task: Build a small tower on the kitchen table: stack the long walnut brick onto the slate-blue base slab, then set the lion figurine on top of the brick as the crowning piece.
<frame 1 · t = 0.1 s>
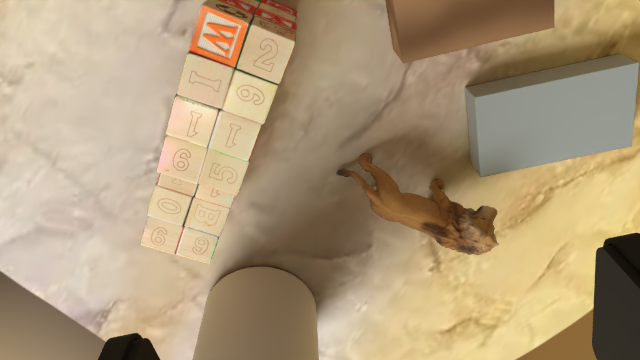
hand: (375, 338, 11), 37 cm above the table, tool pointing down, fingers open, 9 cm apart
base slab: (541, 111, 48), on the table
lion figurine: (410, 182, 51), on the table
stack of blocks: (225, 106, 47), on the table
cylinder vase: (261, 305, 58), on the table
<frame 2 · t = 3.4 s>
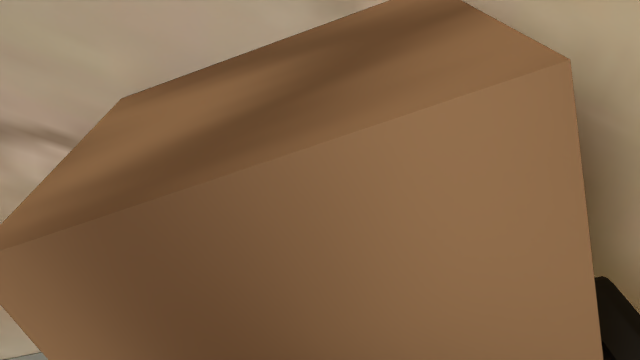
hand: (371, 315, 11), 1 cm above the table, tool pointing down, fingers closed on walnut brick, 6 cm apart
walnut brick: (366, 287, 12), on the table, touching gripper
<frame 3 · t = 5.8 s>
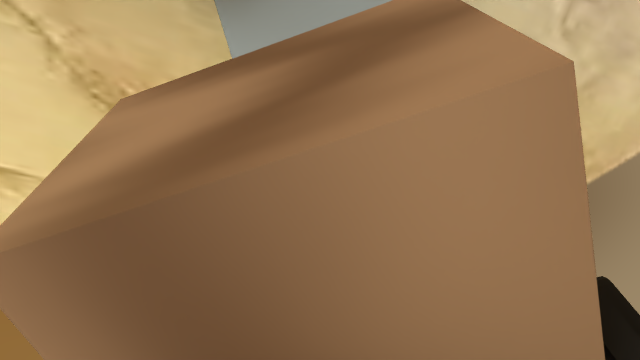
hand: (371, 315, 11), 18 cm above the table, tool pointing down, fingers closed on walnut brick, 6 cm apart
base slab: (328, 81, 27), on the table
walnut brick: (366, 289, 12), point 17 cm above the table, touching gripper
when the fingers open (5 cm above the table, at t = 8.6 s): walnut brick stays where it is, resting on base slab.
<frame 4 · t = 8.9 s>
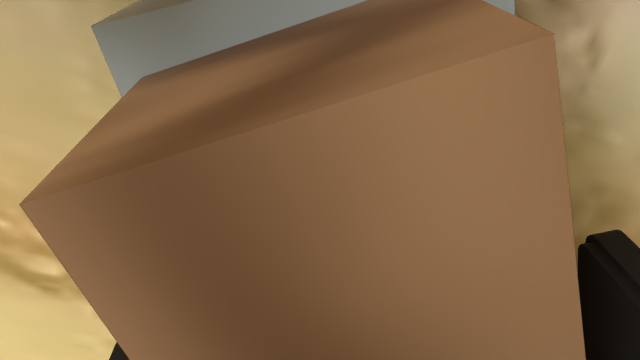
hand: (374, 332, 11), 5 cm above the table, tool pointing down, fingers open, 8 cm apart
base slab: (351, 207, 15), on the table
walnut brick: (365, 264, 12), point 3 cm above the table, touching base slab
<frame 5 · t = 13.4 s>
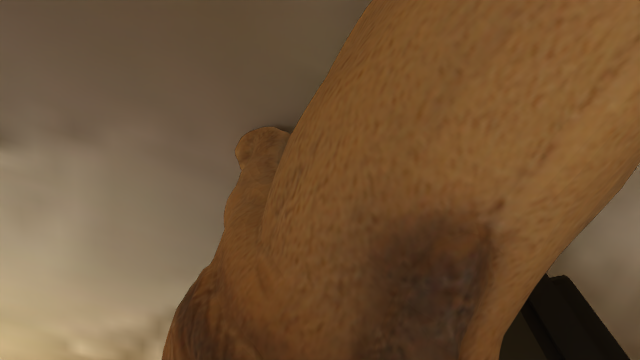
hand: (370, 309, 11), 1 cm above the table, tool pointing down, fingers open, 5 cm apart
lion figurine: (411, 50, 10), on the table, touching gripper
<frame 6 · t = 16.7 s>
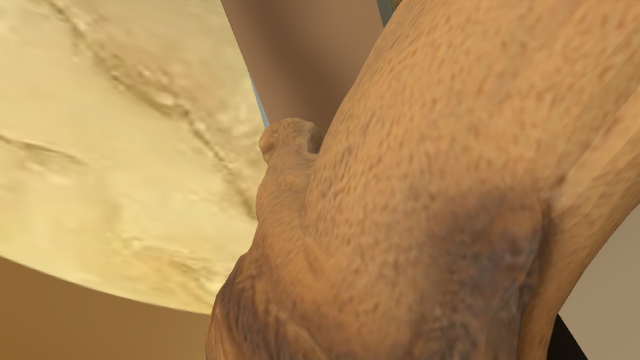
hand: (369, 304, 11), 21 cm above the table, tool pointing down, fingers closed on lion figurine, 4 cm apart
base slab: (324, 65, 30), on the table
lion figurine: (435, 38, 10), point 20 cm above the table, touching gripper
walnut brick: (328, 77, 27), point 3 cm above the table, touching base slab
when the fingers open (9 cm above the table, at t = 19.5 s): lion figurine stays where it is, resting on walnut brick.
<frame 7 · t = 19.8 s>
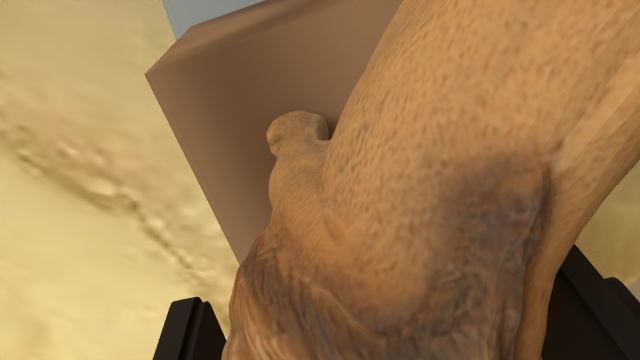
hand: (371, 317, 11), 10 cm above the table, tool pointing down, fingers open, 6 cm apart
base slab: (339, 139, 20), on the table
lion figurine: (434, 34, 10), point 8 cm above the table, touching walnut brick
walnut brick: (347, 170, 17), point 3 cm above the table, touching base slab, lion figurine
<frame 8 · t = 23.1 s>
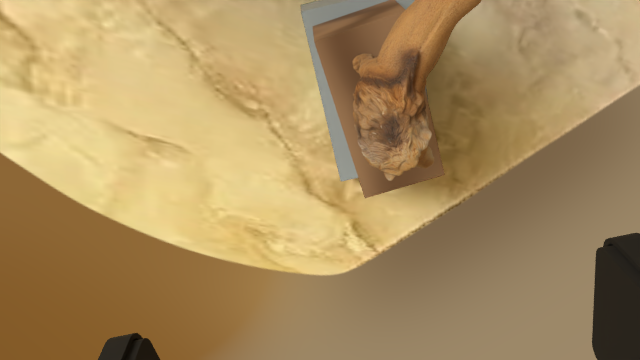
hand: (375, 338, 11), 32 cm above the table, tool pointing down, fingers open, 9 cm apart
base slab: (368, 80, 41), on the table
lion figurine: (408, 28, 32), point 8 cm above the table, touching walnut brick
walnut brick: (374, 90, 38), point 3 cm above the table, touching base slab, lion figurine
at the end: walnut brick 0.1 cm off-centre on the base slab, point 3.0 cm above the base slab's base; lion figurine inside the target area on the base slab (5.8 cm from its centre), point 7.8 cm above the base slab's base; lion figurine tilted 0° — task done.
